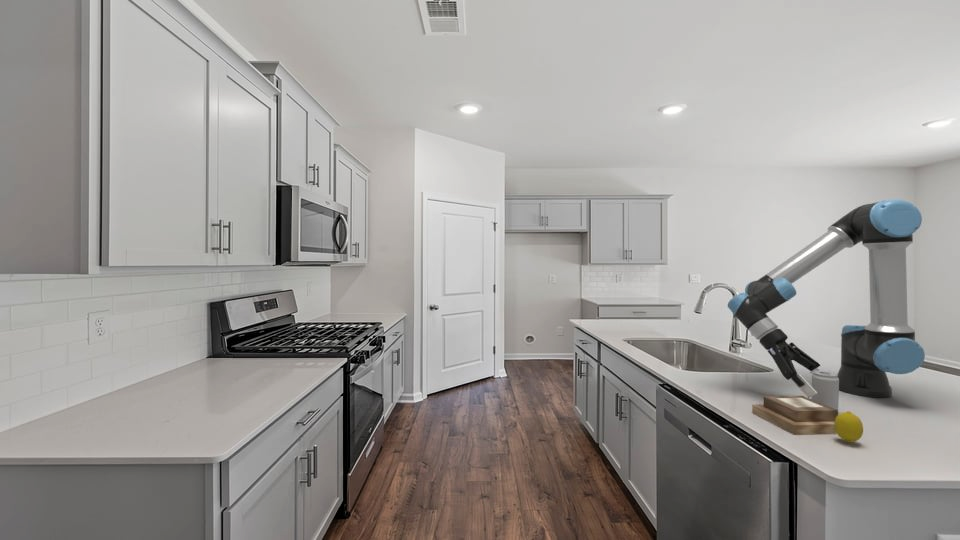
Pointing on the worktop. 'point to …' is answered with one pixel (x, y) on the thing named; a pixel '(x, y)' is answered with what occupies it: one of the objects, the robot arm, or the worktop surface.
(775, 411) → the pedestal
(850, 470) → the worktop surface
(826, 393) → the beverage can
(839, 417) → the lemon
